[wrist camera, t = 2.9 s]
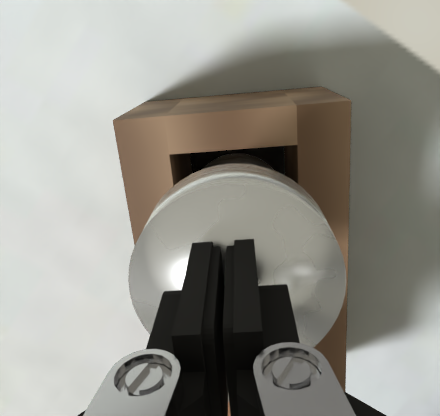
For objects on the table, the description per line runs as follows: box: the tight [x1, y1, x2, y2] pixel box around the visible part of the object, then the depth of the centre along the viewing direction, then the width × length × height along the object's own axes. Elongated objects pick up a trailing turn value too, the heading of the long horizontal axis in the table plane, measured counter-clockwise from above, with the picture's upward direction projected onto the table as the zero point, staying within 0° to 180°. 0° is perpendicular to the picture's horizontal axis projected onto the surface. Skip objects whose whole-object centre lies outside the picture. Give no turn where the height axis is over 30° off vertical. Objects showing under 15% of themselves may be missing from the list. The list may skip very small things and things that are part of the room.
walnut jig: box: [113, 87, 351, 392], centre depth 22 cm, size 9×17×6 cm, turn 5°
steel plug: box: [129, 153, 346, 347], centre depth 15 cm, size 6×6×8 cm
